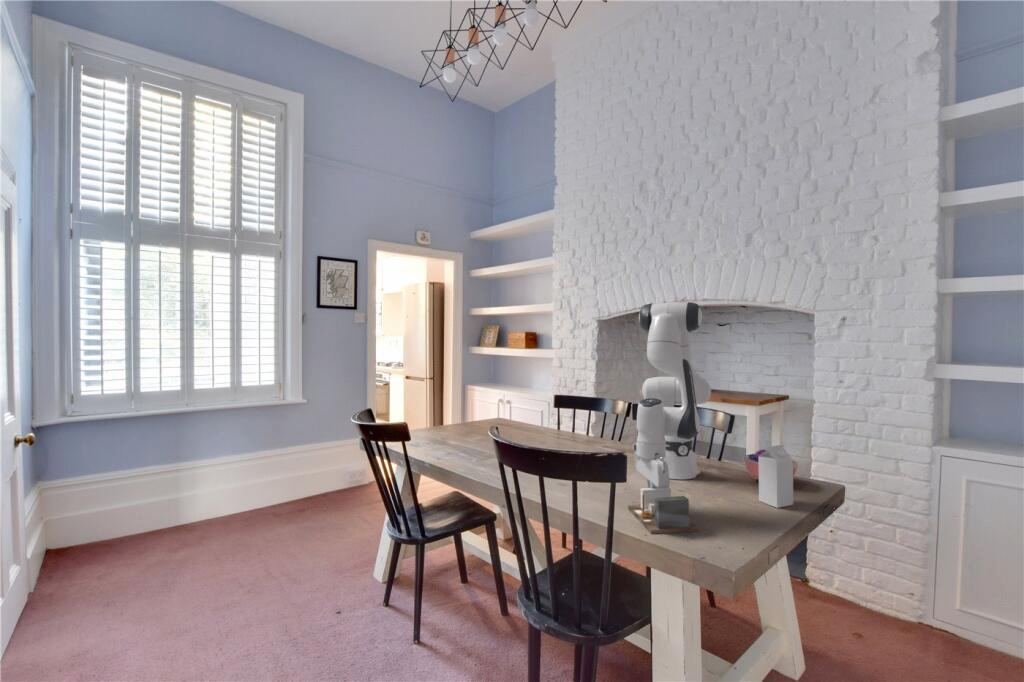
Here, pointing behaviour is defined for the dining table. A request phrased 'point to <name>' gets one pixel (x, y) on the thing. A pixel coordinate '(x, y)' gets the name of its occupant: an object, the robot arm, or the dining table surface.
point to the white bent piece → (651, 494)
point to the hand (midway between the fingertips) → (651, 493)
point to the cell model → (753, 464)
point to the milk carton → (776, 477)
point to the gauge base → (666, 515)
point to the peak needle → (643, 509)
